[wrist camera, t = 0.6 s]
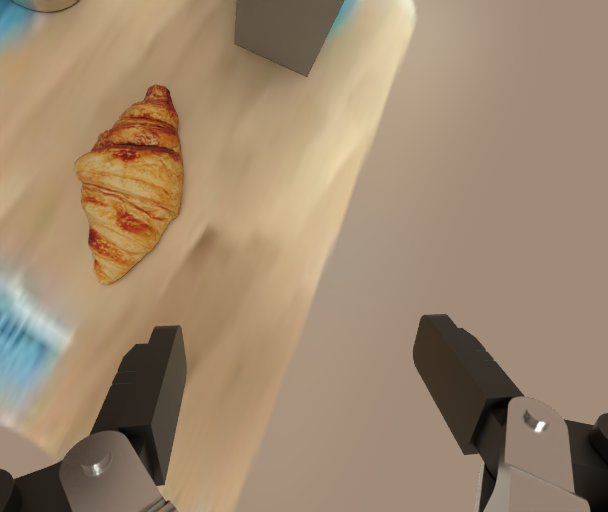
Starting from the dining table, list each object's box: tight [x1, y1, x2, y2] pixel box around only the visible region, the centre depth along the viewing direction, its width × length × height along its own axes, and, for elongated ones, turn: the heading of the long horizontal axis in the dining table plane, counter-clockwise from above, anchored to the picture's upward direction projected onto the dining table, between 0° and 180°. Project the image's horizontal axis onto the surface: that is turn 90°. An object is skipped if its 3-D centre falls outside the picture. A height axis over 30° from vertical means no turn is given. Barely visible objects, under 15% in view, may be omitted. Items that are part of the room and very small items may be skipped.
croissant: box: [74, 85, 183, 284], centre depth 36 cm, size 21×10×8 cm, turn 165°
